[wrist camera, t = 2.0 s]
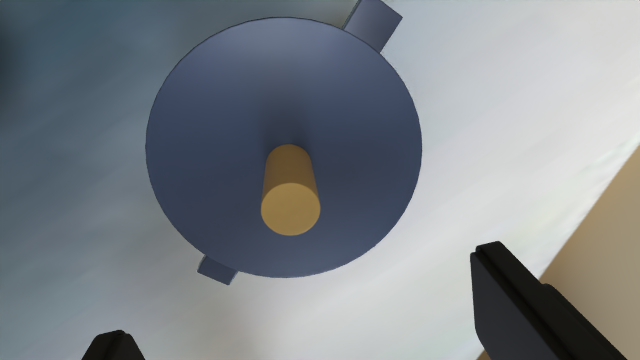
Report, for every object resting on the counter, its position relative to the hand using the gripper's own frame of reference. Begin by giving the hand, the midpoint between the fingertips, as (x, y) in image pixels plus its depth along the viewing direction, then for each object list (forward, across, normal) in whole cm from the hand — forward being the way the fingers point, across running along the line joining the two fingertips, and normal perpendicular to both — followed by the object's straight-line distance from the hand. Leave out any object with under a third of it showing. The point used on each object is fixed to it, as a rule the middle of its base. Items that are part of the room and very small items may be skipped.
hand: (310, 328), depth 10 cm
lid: (+13, 0, 0) cm, 13 cm away
